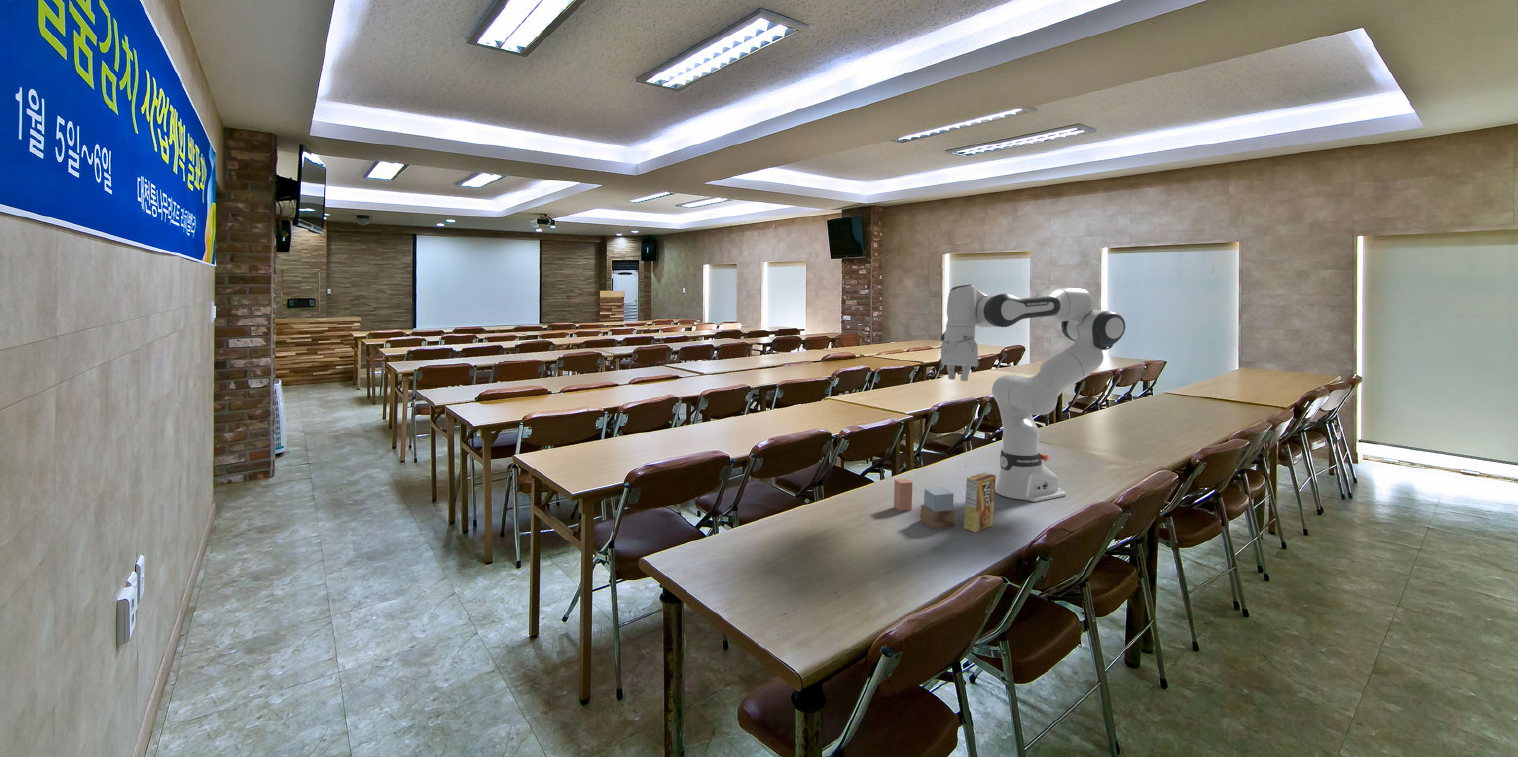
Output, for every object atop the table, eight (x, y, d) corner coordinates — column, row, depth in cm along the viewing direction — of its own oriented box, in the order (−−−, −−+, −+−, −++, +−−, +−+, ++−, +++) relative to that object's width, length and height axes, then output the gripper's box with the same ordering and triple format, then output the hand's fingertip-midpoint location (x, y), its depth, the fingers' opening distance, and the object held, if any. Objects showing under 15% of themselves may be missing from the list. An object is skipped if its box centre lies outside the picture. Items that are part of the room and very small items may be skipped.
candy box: (980, 521, 201) (983, 471, 198) (993, 525, 197) (996, 474, 195) (963, 528, 195) (965, 477, 193) (976, 533, 192) (978, 480, 190)
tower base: (941, 518, 204) (942, 502, 203) (954, 526, 197) (954, 510, 196) (920, 520, 202) (921, 504, 201) (932, 529, 195) (933, 512, 194)
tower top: (942, 503, 202) (942, 487, 201) (952, 510, 197) (953, 493, 196) (924, 505, 201) (924, 488, 200) (934, 511, 195) (934, 495, 194)
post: (905, 506, 214) (906, 478, 213) (911, 510, 210) (912, 482, 209) (893, 507, 213) (894, 479, 212) (899, 511, 209) (900, 483, 208)
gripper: (984, 336, 204) (982, 382, 204) (956, 337, 224) (954, 379, 224) (964, 335, 203) (962, 381, 203) (937, 336, 223) (935, 378, 224)
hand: (957, 380), depth 214 cm, fingers open, 8 cm apart
